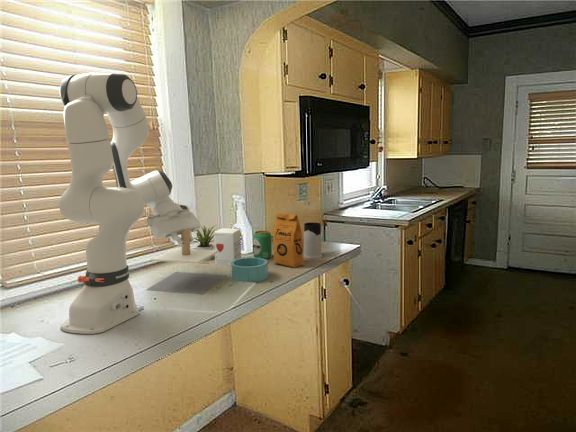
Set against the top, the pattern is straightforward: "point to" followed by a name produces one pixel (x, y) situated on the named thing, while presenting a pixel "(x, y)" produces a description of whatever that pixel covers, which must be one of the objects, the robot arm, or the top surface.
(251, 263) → the bowl
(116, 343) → the top surface
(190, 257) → the peg on square base
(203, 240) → the house plant
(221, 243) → the supplement box
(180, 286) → the rubber mat
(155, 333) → the top surface
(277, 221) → the coffee package
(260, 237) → the beverage can
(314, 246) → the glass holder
